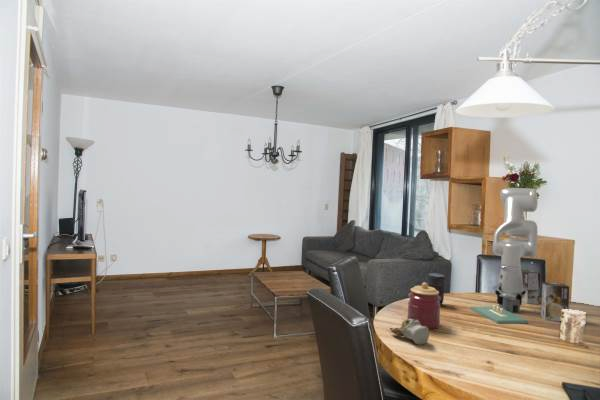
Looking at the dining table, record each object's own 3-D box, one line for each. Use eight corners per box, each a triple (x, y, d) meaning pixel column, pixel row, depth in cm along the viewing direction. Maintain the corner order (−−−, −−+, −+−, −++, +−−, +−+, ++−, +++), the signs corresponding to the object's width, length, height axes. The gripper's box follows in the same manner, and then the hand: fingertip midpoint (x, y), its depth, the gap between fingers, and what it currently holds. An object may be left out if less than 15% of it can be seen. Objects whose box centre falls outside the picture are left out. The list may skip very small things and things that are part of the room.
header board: (471, 309, 184) (471, 300, 184) (498, 309, 186) (498, 300, 186) (497, 323, 164) (497, 313, 164) (527, 323, 166) (527, 313, 166)
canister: (403, 326, 156) (405, 283, 156) (410, 317, 168) (412, 277, 167) (437, 332, 150) (439, 287, 150) (441, 323, 162) (443, 281, 161)
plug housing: (498, 307, 190) (499, 294, 189) (507, 307, 190) (507, 294, 190) (510, 312, 181) (511, 300, 180) (519, 312, 181) (520, 300, 181)
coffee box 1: (539, 304, 197) (541, 273, 197) (526, 303, 197) (528, 272, 197) (529, 299, 206) (530, 269, 206) (517, 298, 206) (518, 269, 206)
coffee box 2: (563, 318, 175) (564, 283, 174) (568, 322, 168) (570, 286, 168) (540, 315, 177) (541, 281, 177) (544, 320, 171) (546, 284, 171)
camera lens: (426, 305, 186) (427, 275, 186) (425, 301, 194) (427, 272, 194) (444, 308, 184) (445, 277, 184) (442, 303, 192) (444, 273, 192)
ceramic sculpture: (414, 323, 133) (388, 313, 147) (414, 348, 133) (388, 336, 147) (438, 320, 137) (410, 311, 151) (438, 345, 137) (410, 333, 151)
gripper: (499, 270, 180) (497, 306, 180) (532, 270, 182) (531, 306, 182) (489, 267, 187) (487, 301, 187) (521, 268, 190) (520, 302, 190)
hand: (509, 304), depth 185 cm, fingers open, 9 cm apart
